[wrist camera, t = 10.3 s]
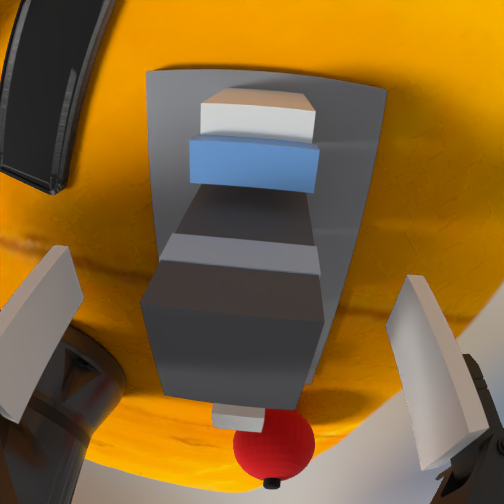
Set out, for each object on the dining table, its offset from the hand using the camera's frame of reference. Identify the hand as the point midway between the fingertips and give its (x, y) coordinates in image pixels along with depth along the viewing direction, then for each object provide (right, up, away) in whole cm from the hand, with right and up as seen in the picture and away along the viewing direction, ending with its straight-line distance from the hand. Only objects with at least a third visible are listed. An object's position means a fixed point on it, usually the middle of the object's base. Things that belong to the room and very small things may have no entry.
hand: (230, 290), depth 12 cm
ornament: (+4, -17, +23) cm, 29 cm away
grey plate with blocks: (+1, 0, +11) cm, 11 cm away
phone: (-13, +13, +5) cm, 19 cm away
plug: (+1, +5, +7) cm, 8 cm away
